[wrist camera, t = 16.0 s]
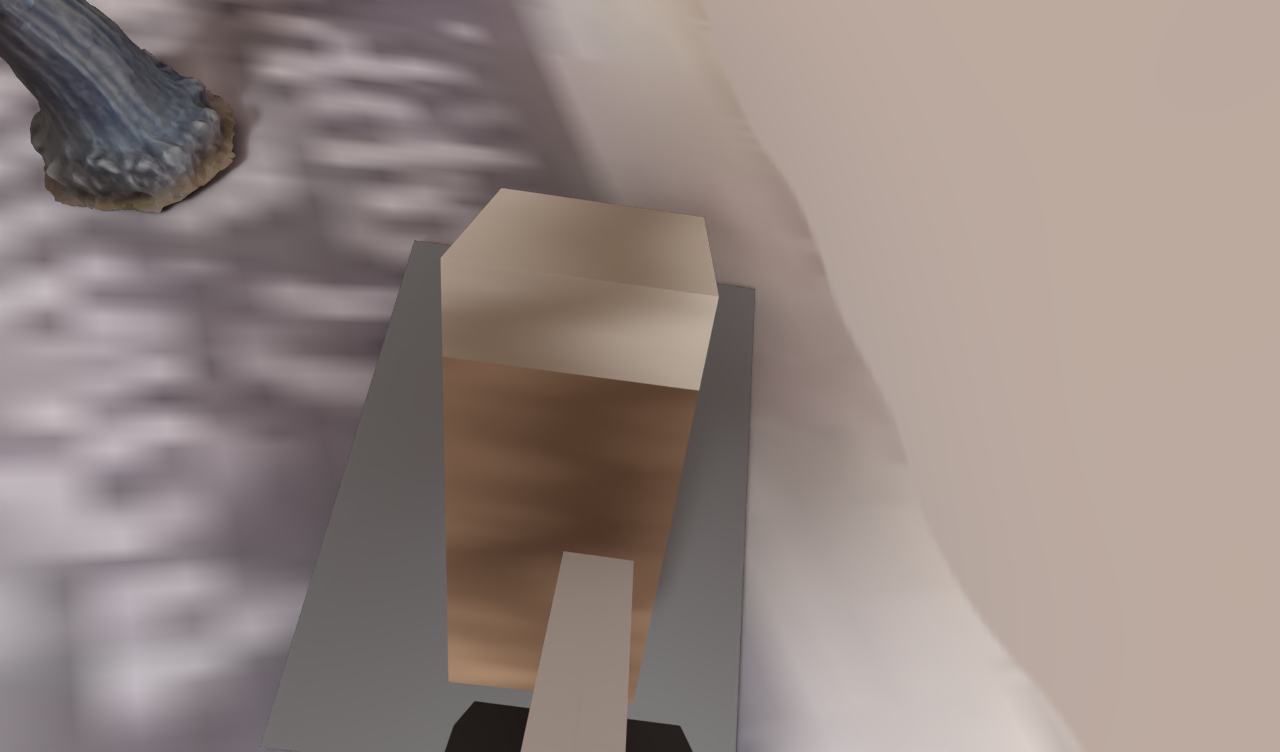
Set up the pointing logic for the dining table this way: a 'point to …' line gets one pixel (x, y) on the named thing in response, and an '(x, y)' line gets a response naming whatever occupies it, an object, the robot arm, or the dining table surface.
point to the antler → (111, 110)
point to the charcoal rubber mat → (416, 559)
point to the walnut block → (563, 411)
